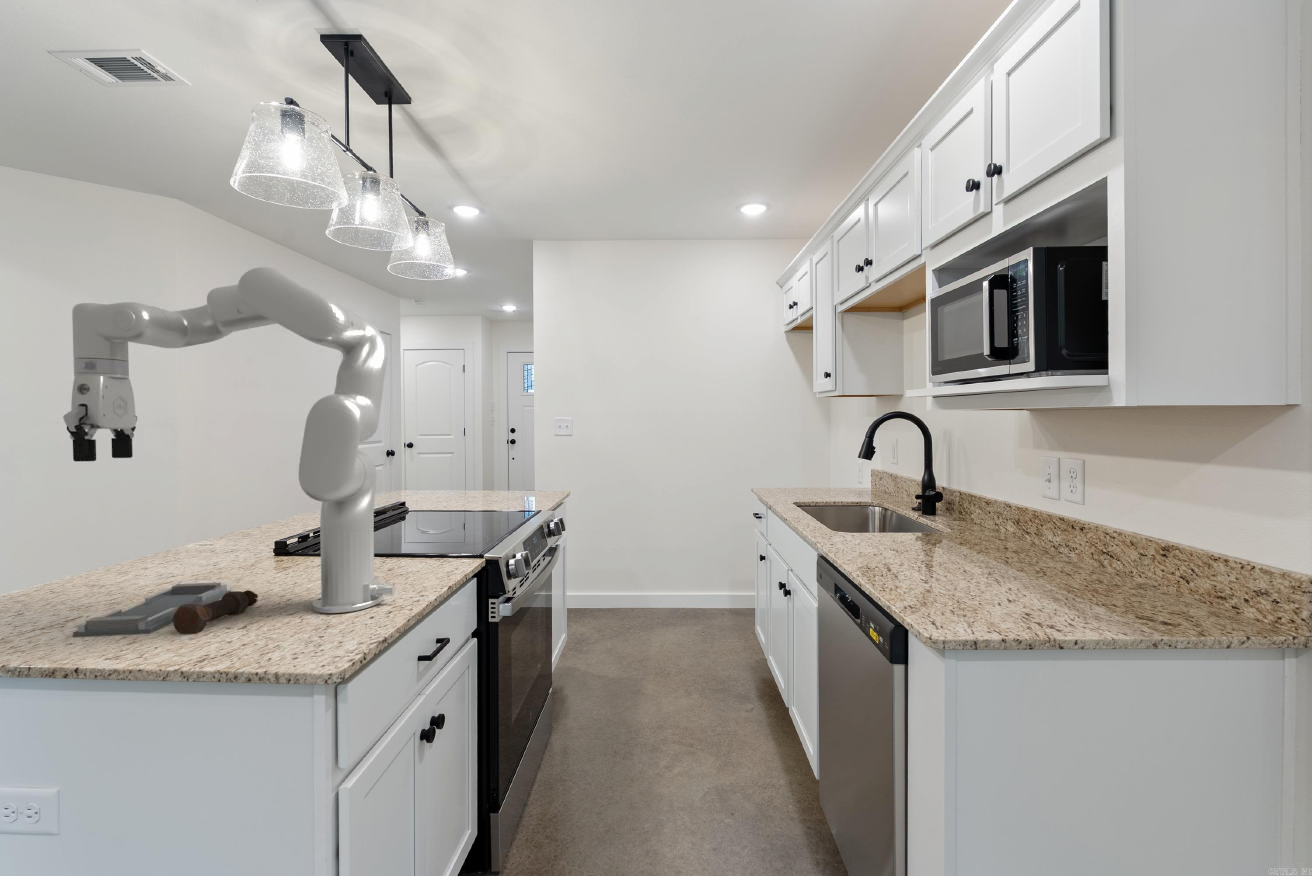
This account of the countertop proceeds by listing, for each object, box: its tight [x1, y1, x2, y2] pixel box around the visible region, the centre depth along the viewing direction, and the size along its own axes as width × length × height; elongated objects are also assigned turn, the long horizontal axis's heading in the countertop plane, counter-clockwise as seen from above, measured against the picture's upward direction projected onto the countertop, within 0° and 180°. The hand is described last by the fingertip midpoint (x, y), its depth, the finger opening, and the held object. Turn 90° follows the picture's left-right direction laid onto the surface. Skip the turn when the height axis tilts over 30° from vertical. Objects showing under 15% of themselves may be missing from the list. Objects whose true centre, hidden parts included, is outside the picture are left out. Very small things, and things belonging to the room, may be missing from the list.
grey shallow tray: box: [77, 582, 228, 632], centre depth 109 cm, size 10×23×2 cm, turn 8°
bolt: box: [172, 590, 259, 635], centre depth 106 cm, size 6×5×15 cm
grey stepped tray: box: [72, 589, 232, 638], centre depth 109 cm, size 12×23×1 cm, turn 8°
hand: (104, 459), depth 108 cm, fingers open, 9 cm apart
